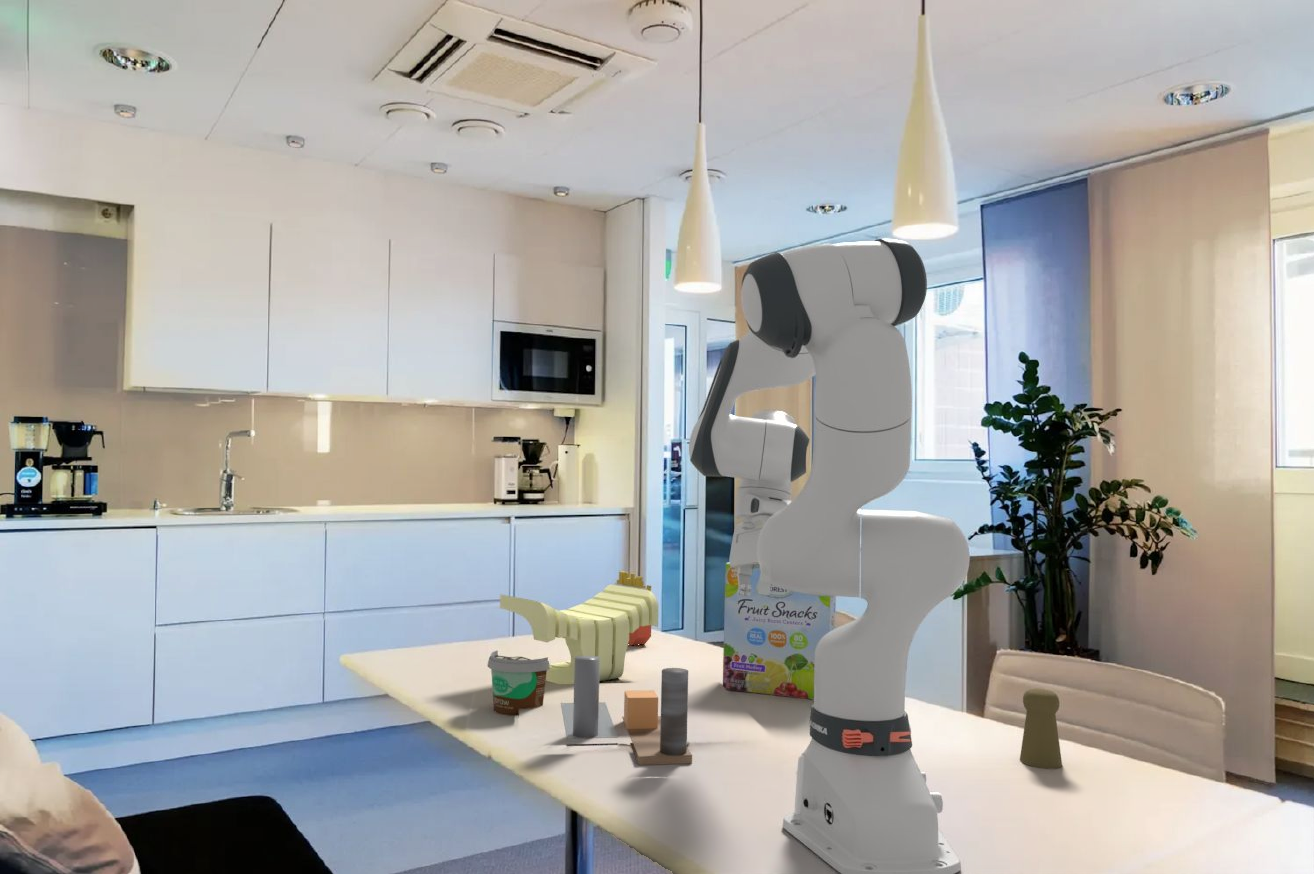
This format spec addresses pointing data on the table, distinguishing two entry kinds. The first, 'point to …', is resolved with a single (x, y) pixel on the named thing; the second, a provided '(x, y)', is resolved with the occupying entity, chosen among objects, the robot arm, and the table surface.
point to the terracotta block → (641, 709)
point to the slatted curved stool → (590, 627)
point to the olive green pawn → (1041, 730)
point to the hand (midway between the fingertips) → (752, 595)
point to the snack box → (772, 638)
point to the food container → (517, 683)
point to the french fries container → (642, 632)
